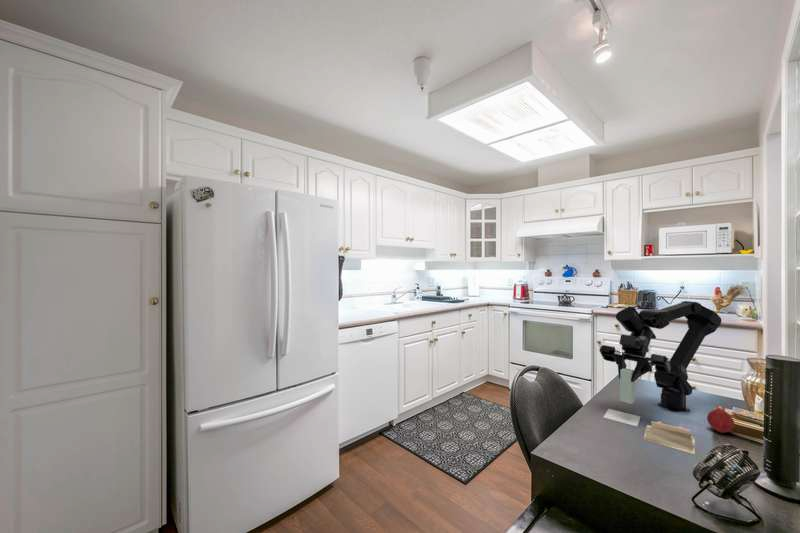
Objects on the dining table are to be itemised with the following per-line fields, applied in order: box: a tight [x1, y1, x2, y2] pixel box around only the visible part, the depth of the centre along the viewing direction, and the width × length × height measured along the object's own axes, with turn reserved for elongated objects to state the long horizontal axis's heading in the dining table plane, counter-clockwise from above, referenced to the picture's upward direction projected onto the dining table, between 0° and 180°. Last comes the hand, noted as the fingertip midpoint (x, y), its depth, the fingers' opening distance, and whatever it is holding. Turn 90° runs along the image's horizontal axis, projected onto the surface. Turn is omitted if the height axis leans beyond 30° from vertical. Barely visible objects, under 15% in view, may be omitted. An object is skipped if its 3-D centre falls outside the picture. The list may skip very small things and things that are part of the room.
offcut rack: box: [642, 420, 696, 455], centre depth 95 cm, size 12×11×5 cm
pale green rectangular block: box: [619, 367, 636, 405], centre depth 107 cm, size 3×3×10 cm
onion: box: [706, 405, 735, 434], centre depth 100 cm, size 6×6×8 cm
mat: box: [603, 408, 641, 427], centre depth 109 cm, size 9×9×1 cm
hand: (625, 379), depth 106 cm, fingers closed on pale green rectangular block, 3 cm apart
